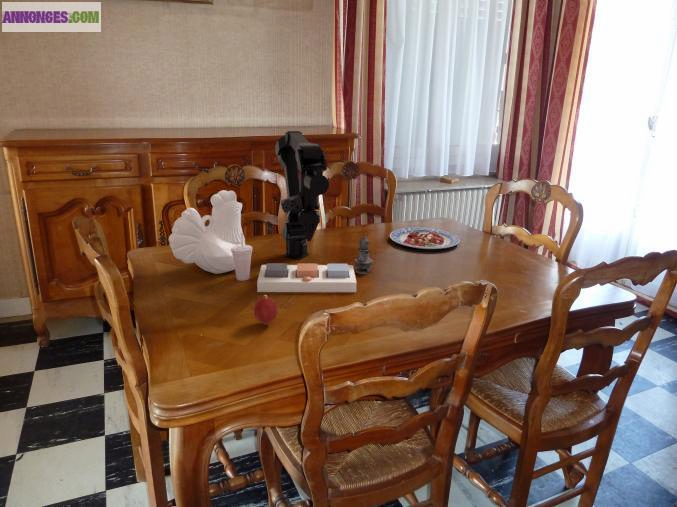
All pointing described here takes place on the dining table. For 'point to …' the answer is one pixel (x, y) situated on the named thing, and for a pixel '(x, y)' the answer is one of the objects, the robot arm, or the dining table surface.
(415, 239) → the ceramic plate
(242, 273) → the smoothie
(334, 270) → the blue key
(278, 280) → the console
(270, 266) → the charcoal key
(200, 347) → the dining table surface
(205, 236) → the decorative rooster
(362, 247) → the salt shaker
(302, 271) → the terracotta key
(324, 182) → the robot arm
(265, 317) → the onion
